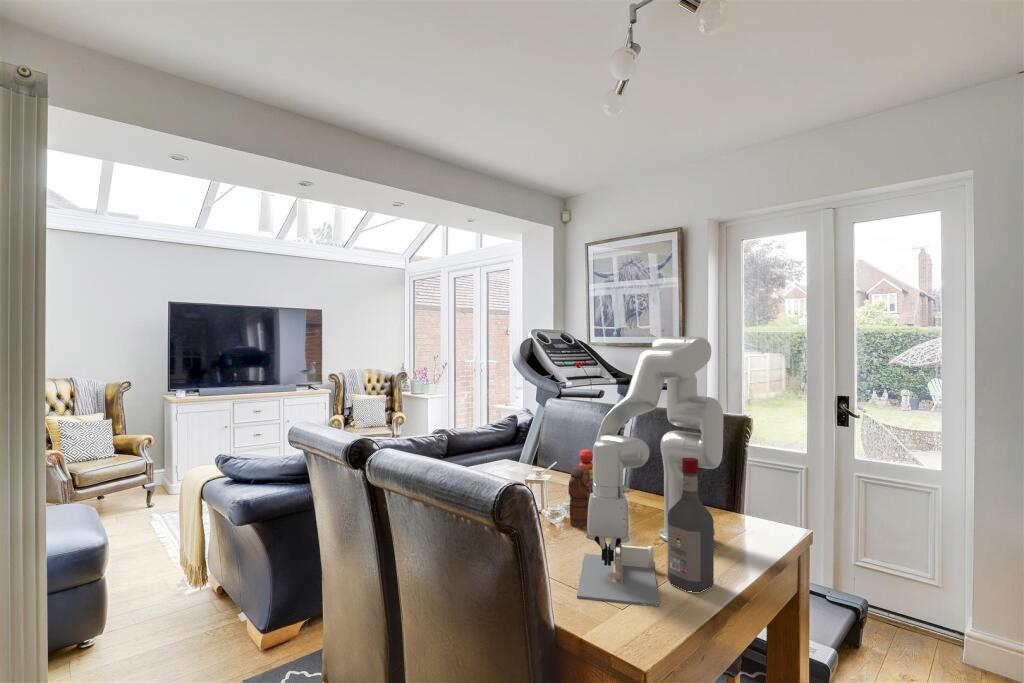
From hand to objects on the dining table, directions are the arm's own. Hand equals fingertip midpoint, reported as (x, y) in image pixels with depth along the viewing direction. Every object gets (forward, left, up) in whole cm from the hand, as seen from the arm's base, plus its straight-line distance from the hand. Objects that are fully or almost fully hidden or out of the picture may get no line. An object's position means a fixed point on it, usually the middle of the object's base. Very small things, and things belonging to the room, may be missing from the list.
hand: (607, 563), depth 130 cm
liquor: (-20, +1, -3) cm, 20 cm away
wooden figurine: (+9, -37, -3) cm, 39 cm away
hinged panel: (-3, 0, -2) cm, 3 cm away
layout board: (-3, +2, -3) cm, 4 cm away
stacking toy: (+9, -60, -3) cm, 61 cm away
